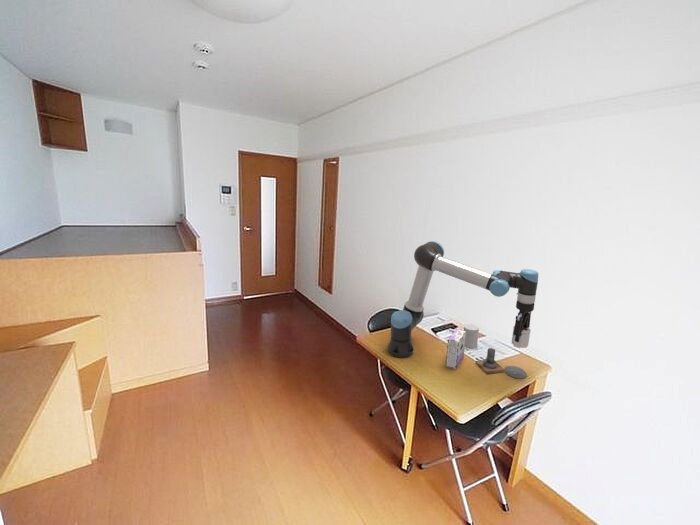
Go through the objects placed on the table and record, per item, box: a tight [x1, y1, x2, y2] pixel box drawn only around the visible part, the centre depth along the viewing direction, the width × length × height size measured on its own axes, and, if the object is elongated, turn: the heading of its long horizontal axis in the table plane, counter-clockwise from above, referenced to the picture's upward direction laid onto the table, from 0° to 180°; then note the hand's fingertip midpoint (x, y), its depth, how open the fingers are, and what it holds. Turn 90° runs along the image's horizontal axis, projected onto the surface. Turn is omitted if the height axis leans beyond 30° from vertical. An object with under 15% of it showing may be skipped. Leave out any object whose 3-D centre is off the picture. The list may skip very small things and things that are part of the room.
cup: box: [463, 323, 480, 350], centre depth 183 cm, size 8×8×12 cm
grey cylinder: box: [511, 325, 531, 349], centre depth 152 cm, size 7×7×9 cm
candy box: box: [445, 328, 466, 370], centre depth 166 cm, size 14×6×16 cm, turn 145°
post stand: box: [475, 347, 505, 375], centre depth 161 cm, size 10×10×10 cm
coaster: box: [504, 365, 528, 380], centre depth 157 cm, size 10×10×1 cm
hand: (519, 344), depth 153 cm, fingers closed on grey cylinder, 7 cm apart
